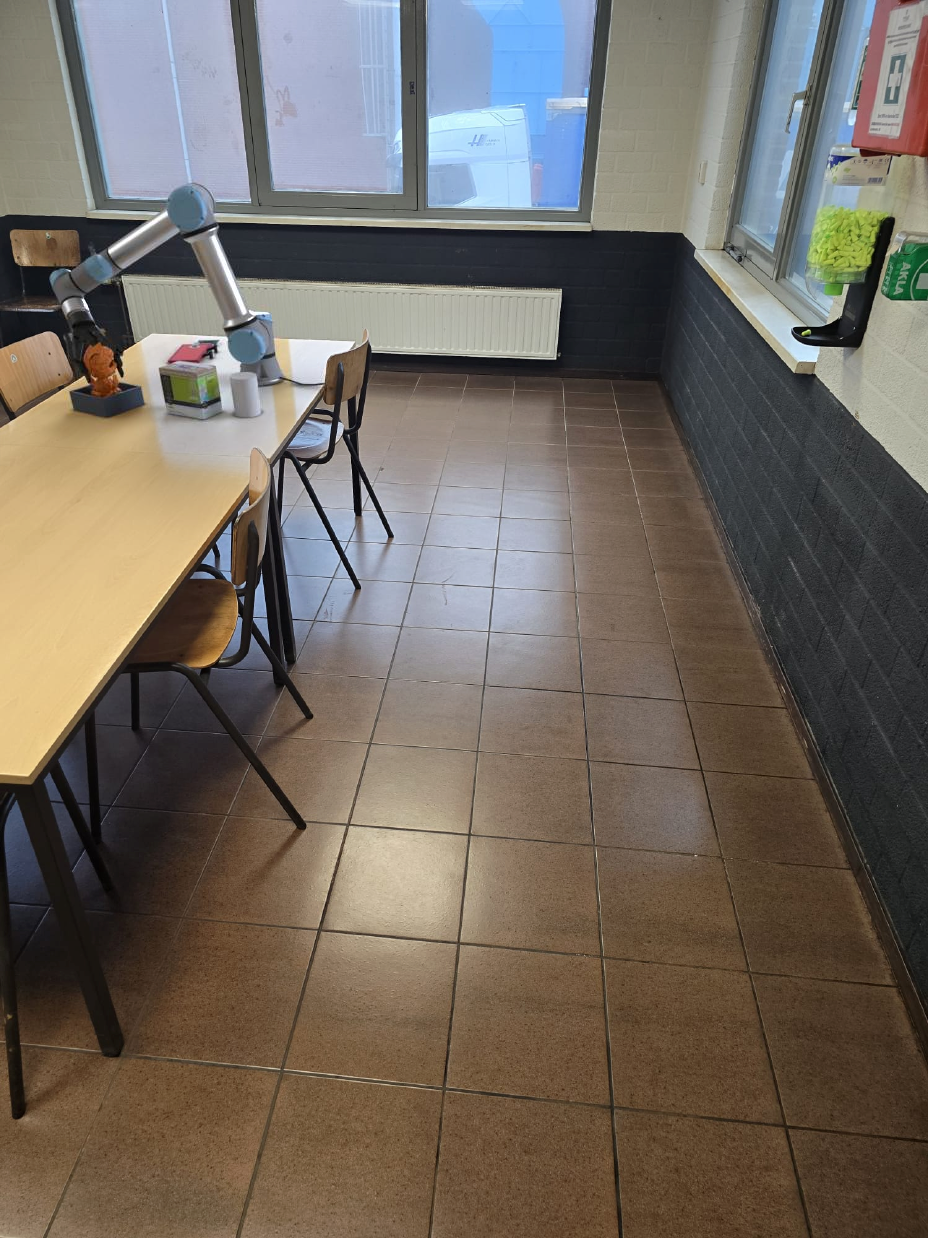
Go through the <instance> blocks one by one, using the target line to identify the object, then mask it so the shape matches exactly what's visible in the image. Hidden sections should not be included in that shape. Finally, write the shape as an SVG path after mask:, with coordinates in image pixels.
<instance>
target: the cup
mask: <svg viewBox="0 0 928 1238" xmlns="http://www.w3.org/2000/svg"><path fill="white" fill-rule="evenodd" d="M229 382H230V389H231V396H232V403H233V411H234V415H235V416H236V417H239V418H253V417H257V416H260V415H261V414H262V408H261V401H260V393H259V386H258V384H257V376H256V374H255V373H252V372H240V371H238V372H234V373H231V374H230V375H229Z"/></svg>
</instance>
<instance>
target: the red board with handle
mask: <svg viewBox="0 0 928 1238" xmlns="http://www.w3.org/2000/svg"><path fill="white" fill-rule="evenodd" d="M219 342H220V339H199V340H198V341H195V342H193V343H184V344H183V343H182V344H181V345H180V346H179V347H178V349H176V351H175V352H174V353H173V354H172V355H171V356H170V358H169V359H168V360H167V364H171V363H174V362H177V361H185V362H192V363H199V364H200V361H201V360H202V359H203V358H206V357H209V360H213V359H214V355H213V353H214V354H217V353H218V351H219V349H218V343H219ZM212 345H213V346H212Z"/></svg>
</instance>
